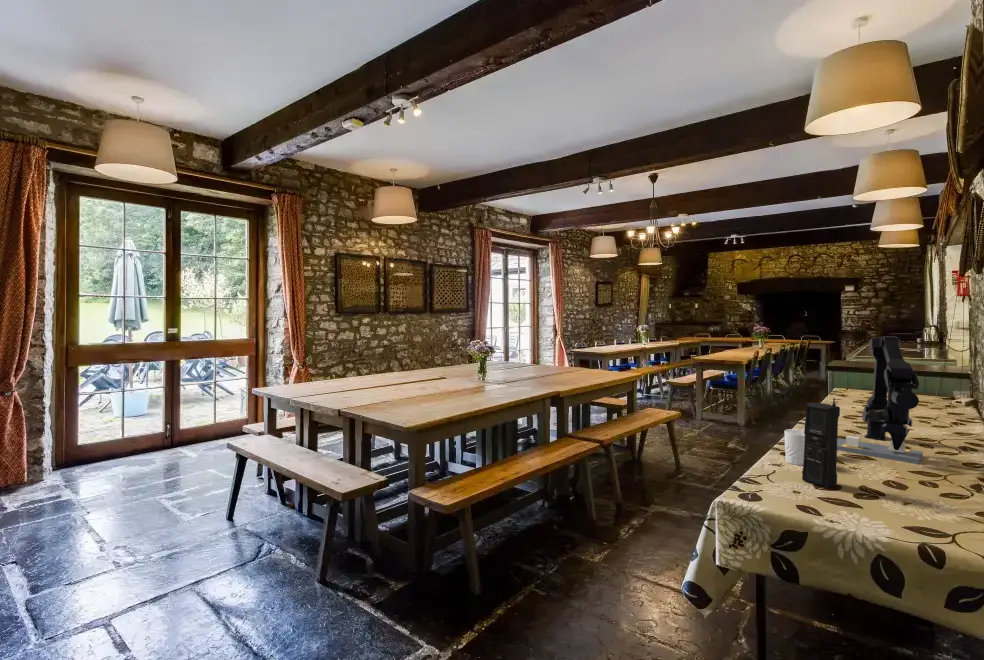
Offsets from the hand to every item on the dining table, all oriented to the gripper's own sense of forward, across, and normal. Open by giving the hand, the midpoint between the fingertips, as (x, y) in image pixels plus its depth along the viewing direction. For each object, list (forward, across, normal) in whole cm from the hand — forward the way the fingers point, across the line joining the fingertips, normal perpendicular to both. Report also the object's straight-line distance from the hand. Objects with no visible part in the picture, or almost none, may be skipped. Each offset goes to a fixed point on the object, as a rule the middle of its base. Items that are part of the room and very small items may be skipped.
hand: (896, 449), depth 166 cm
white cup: (+3, +30, -22) cm, 37 cm away
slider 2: (+1, -3, 0) cm, 3 cm away
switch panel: (+3, -3, -6) cm, 7 cm away
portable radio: (+3, +47, -13) cm, 49 cm away
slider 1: (+1, 0, -12) cm, 12 cm away
